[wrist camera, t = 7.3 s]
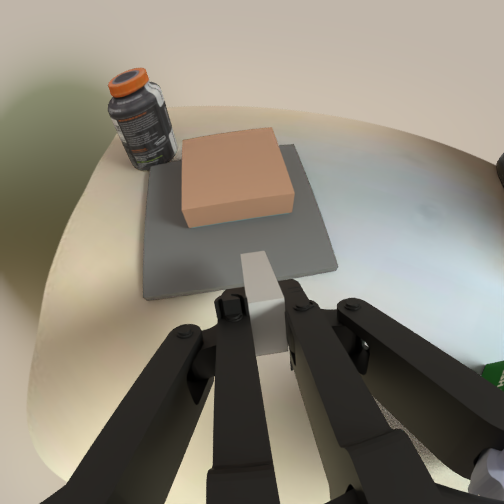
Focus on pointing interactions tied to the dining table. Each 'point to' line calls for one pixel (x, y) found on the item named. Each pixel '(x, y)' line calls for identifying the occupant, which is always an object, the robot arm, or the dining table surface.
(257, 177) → the tile
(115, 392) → the dining table surface
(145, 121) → the pill bottle
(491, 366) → the milk carton
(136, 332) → the dining table surface
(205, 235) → the mat
